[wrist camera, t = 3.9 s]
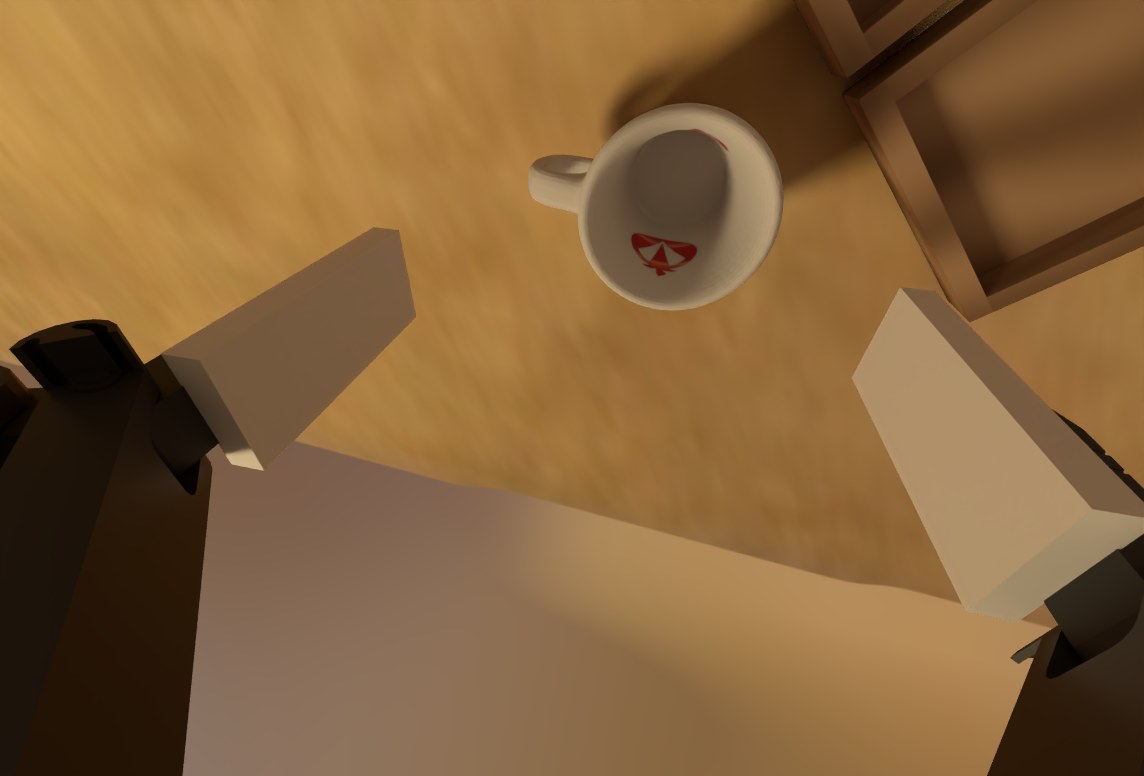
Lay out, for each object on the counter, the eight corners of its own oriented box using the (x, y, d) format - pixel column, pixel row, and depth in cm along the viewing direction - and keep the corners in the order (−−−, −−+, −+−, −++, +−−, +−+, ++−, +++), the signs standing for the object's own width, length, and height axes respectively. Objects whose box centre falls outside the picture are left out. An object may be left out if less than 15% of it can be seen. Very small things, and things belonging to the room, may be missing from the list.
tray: (842, 93, 20) (858, 99, 18) (1289, -249, 13) (1390, -297, 12) (947, 300, 25) (969, 322, 23) (1322, 123, 18) (1399, 133, 16)
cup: (548, 226, 27) (507, 283, 21) (560, 64, 22) (511, 76, 16) (728, 259, 26) (741, 328, 20) (783, 98, 21) (824, 124, 15)
